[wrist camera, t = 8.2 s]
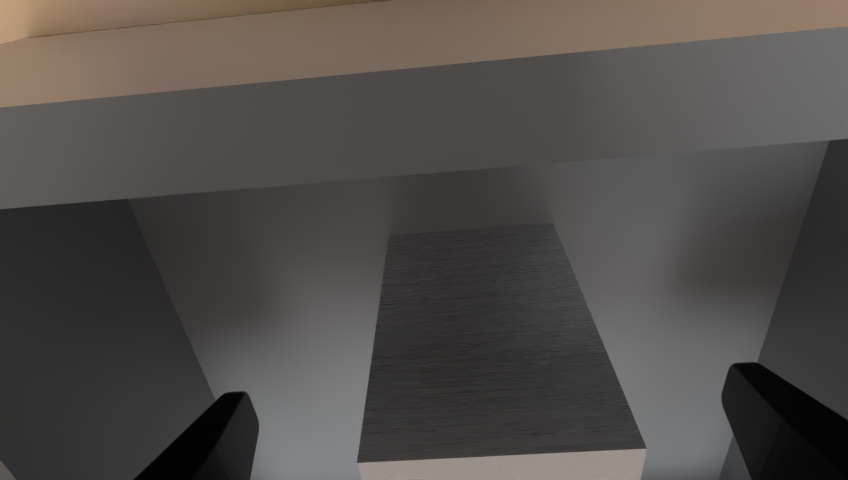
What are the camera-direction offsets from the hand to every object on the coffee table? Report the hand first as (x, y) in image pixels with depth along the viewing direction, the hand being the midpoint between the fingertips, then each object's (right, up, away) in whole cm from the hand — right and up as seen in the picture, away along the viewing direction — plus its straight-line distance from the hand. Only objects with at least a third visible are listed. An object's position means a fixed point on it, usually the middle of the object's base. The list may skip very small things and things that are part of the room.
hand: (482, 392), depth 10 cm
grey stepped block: (0, 0, +3) cm, 3 cm away
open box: (0, +1, +3) cm, 3 cm away
